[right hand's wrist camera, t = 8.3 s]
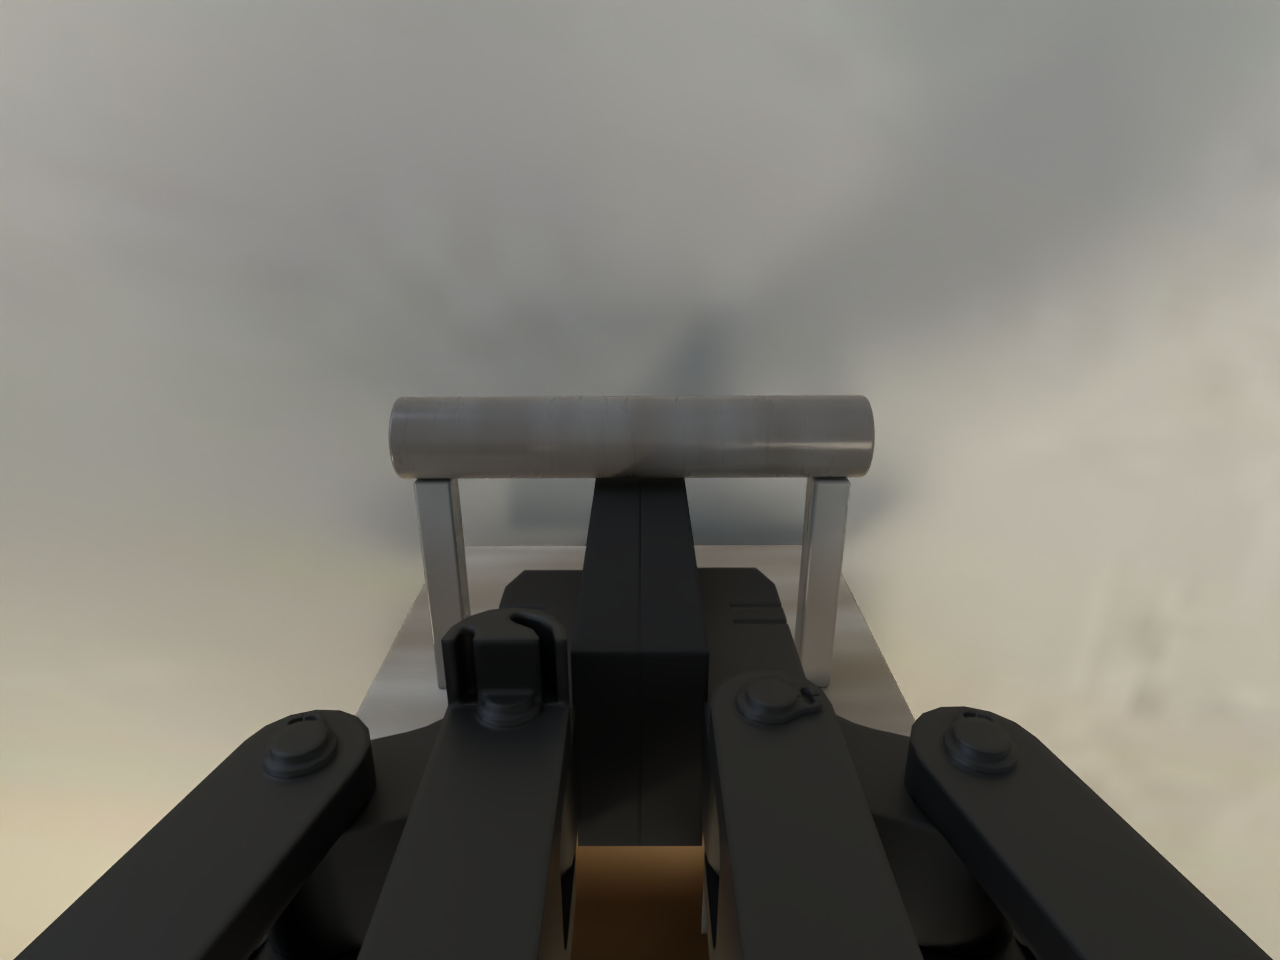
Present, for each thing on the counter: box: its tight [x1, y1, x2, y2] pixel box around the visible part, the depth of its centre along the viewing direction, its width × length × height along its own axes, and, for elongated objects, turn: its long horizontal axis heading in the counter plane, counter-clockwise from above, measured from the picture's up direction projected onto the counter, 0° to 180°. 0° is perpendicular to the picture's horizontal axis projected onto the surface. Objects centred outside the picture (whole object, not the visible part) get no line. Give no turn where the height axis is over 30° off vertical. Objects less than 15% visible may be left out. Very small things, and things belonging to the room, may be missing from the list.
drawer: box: [355, 395, 915, 960], centre depth 18 cm, size 23×10×7 cm, turn 0°
